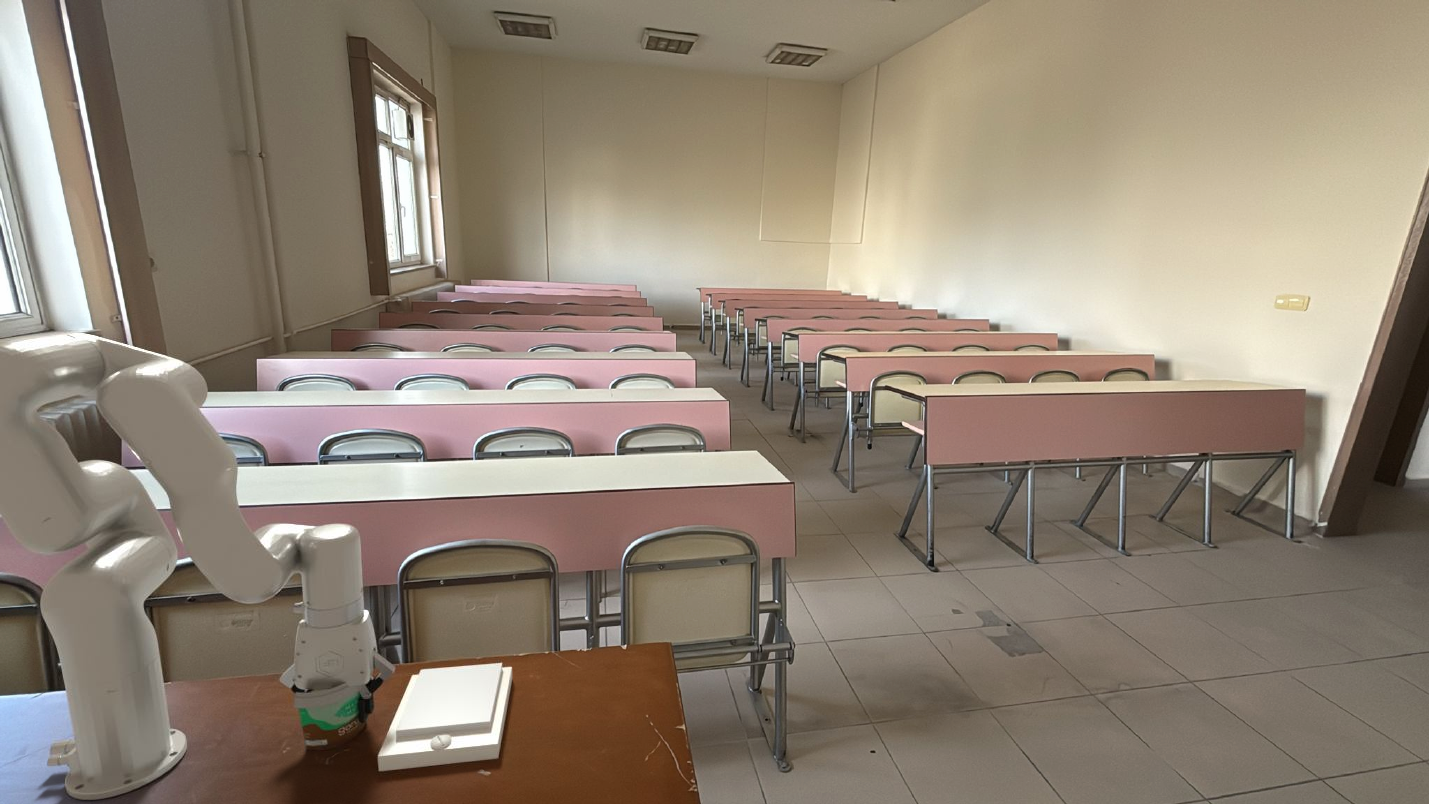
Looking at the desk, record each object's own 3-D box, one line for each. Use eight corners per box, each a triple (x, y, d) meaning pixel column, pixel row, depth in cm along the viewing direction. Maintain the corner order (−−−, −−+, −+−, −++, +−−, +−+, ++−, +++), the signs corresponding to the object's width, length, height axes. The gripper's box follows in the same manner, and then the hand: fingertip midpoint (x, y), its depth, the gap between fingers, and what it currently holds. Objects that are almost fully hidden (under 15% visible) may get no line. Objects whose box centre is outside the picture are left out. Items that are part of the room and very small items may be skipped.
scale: (378, 771, 91) (377, 748, 90) (413, 688, 109) (412, 668, 108) (498, 758, 94) (497, 736, 93) (512, 679, 112) (511, 660, 112)
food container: (336, 763, 92) (331, 701, 90) (298, 756, 93) (292, 694, 91) (392, 707, 104) (389, 651, 102) (358, 701, 105) (354, 646, 103)
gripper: (255, 625, 89) (265, 741, 93) (390, 619, 93) (395, 731, 96) (280, 599, 97) (288, 707, 100) (404, 594, 100) (409, 699, 103)
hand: (341, 718), depth 98 cm, fingers closed on food container, 6 cm apart
